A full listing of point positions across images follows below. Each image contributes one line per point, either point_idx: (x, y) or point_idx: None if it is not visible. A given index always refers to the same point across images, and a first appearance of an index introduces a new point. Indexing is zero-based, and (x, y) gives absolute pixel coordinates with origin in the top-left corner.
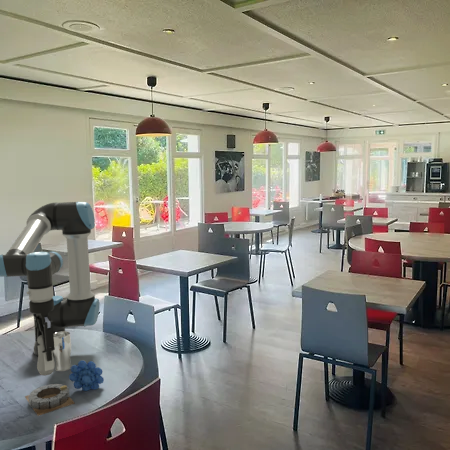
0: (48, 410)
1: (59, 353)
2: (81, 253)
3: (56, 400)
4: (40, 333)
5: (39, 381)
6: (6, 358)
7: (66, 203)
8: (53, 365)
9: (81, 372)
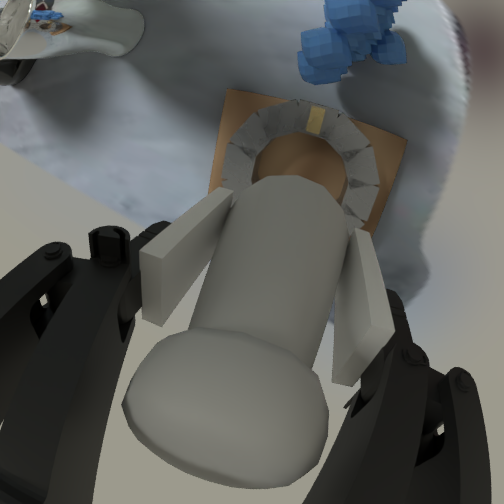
0: (366, 221)
1: (81, 37)
2: None
3: (375, 197)
4: (96, 432)
5: (129, 117)
6: (4, 141)
7: None
8: (372, 244)
9: (360, 40)
